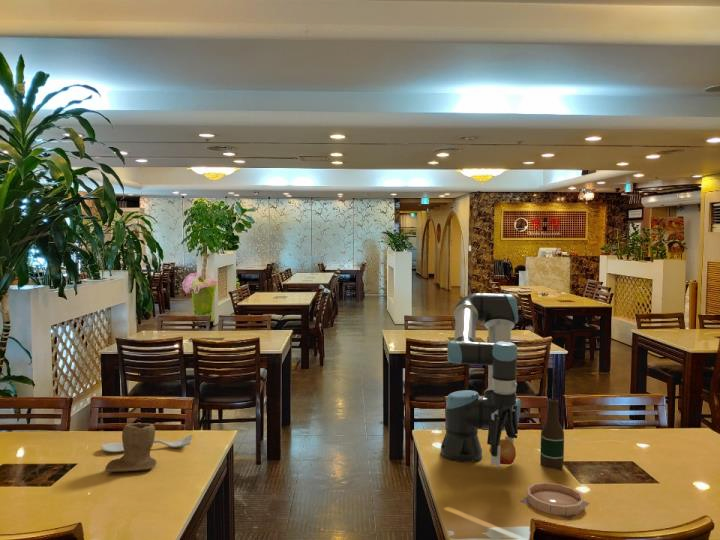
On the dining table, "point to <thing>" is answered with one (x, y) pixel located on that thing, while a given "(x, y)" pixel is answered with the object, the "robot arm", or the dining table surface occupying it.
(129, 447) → the brown boot
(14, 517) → the dining table surface
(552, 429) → the beer bottle
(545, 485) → the bowl
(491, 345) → the robot arm
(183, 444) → the spoon
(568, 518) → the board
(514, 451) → the fruit
